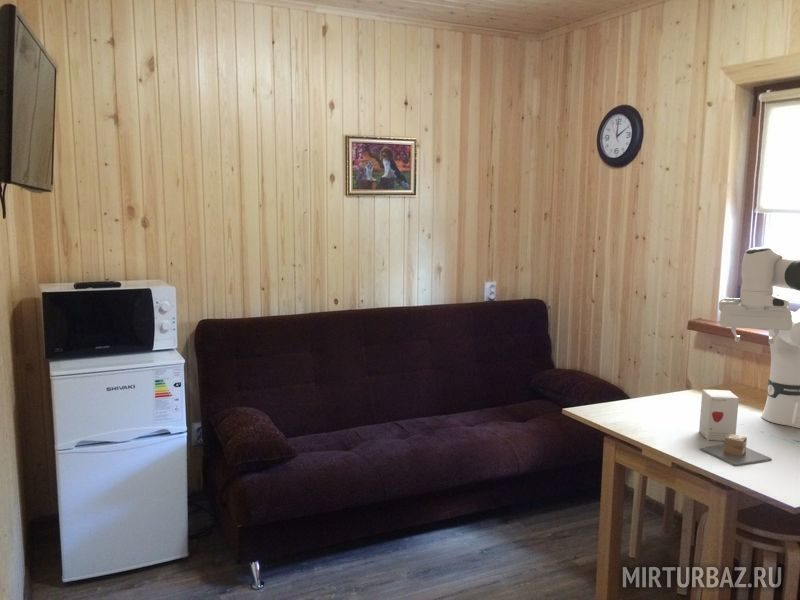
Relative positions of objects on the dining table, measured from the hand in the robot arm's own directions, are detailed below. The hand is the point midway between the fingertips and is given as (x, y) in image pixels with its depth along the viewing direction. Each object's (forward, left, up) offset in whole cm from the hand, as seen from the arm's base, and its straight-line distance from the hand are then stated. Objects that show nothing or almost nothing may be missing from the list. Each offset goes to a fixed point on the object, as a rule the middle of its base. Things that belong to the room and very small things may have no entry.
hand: (754, 342), depth 207 cm
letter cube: (+8, +8, -33) cm, 35 cm away
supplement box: (+5, -8, -34) cm, 35 cm away
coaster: (+8, +8, -34) cm, 36 cm away
